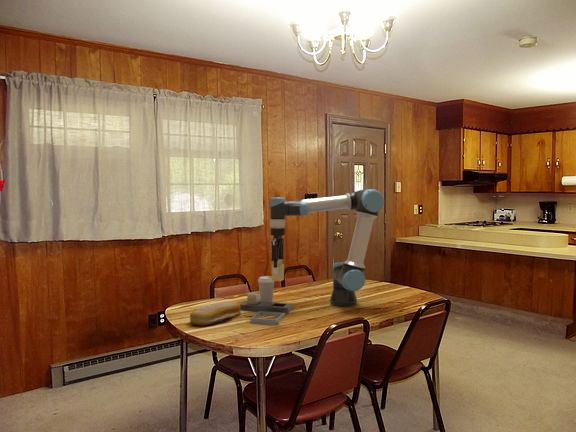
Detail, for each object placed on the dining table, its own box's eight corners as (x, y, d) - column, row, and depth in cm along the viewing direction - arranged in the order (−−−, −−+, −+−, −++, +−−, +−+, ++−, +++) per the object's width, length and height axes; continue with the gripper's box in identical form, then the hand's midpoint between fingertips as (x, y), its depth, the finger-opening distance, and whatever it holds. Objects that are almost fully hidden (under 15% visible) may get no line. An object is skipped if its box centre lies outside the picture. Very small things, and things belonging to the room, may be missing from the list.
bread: (245, 317, 220) (245, 301, 220) (204, 329, 200) (204, 312, 199) (227, 312, 229) (227, 297, 228) (186, 324, 208) (185, 307, 208)
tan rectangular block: (283, 279, 227) (283, 264, 227) (280, 281, 222) (280, 265, 222) (274, 278, 228) (274, 263, 228) (271, 280, 224) (271, 265, 223)
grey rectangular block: (259, 308, 233) (259, 293, 232) (256, 310, 228) (256, 295, 227) (250, 307, 234) (250, 292, 234) (247, 309, 229) (247, 294, 229)
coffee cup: (272, 306, 239) (272, 279, 238) (255, 305, 241) (255, 278, 240) (276, 302, 249) (276, 276, 248) (260, 301, 250) (260, 275, 250)
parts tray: (284, 317, 217) (284, 313, 217) (276, 325, 205) (276, 320, 205) (259, 315, 221) (259, 311, 221) (250, 323, 209) (250, 318, 208)
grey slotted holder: (292, 311, 230) (292, 303, 230) (287, 315, 221) (287, 307, 221) (246, 307, 237) (246, 300, 237) (239, 312, 228) (239, 304, 228)
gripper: (276, 226, 234) (276, 269, 235) (264, 228, 217) (264, 275, 218) (289, 226, 232) (289, 270, 233) (279, 228, 214) (279, 276, 215)
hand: (277, 272), depth 225 cm, fingers closed on tan rectangular block, 5 cm apart
